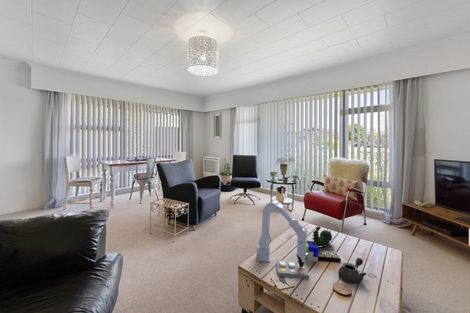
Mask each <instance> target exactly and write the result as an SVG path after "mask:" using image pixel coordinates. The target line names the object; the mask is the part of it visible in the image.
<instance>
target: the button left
mask: <svg viewBox="0 0 470 313" xmlns="http://www.w3.org/2000/svg"><path fill="white" fill-rule="evenodd" d="M282 261H283V260H280V267H286V264H285V262H282Z"/></svg>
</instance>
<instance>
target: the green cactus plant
mask: <svg viewBox="0 0 470 313" xmlns="http://www.w3.org/2000/svg"><path fill="white" fill-rule="evenodd" d="M320 230H321V226H319V225H318V226H316V228H315V230H314V231H313V232H312V233H313V234H312V241H314V242H316V243H317V246H324V247H327V246H328V244H330V242H331V241H332V240H333V235H332V231H331V230H325V229H324V230H321V232H320V233H319V231H320ZM325 245H326V246H325Z"/></svg>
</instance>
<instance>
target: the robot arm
mask: <svg viewBox="0 0 470 313" xmlns="http://www.w3.org/2000/svg"><path fill="white" fill-rule="evenodd" d="M271 212H275V213H279V214H281V216H282V217H284V219H286V221H288V225H289V226H290V228H291V229H292V230H293V231H294V232H295V233H296V236H297V243H296V244H297V245H296V256H297V257H296V258H297V260H298V261H297V262H299V266H300V267H303V265H304V263H306V261H307V260H306V255H308V253H306V241H307V235H308V229H307V228H306V227H304V226H302V225H301V224H300V223H299V220H298V219H295V218H293V217H292V216H291V215H290V213H289V212H288V211H287V210H286V209H285V207H284V205H283V204H282V203H281V202H280V201H279V200H278V199H273V200H271V201H269V202H268V203H266V205H265V206H264V207H263V209H262V222H261V234H260V237H259V241H258V245H257V246H256V261H258V262H267V263H270V262H271V254H270V253H271V252H270V251H271V246H270V244H271V242H272V238H271V234H270V221H271V220H270V219H271V218H270V217H271Z"/></svg>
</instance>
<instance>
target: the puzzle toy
mask: <svg viewBox="0 0 470 313" xmlns="http://www.w3.org/2000/svg"><path fill="white" fill-rule="evenodd" d="M306 253H308V255H306V260H305V261H308V262H309V261H311V262H319V247H318V246H317V243H316V242H314V240H306Z"/></svg>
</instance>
